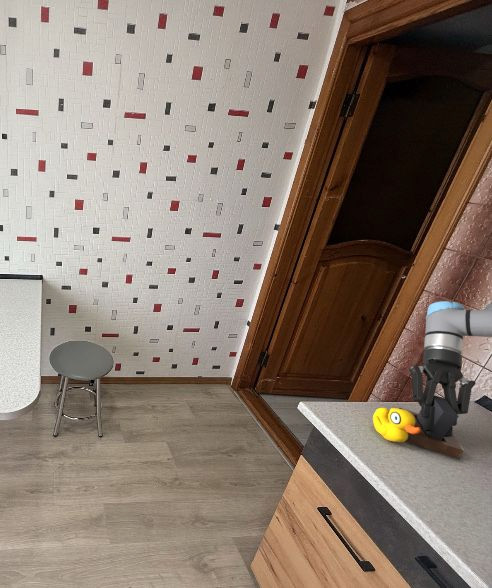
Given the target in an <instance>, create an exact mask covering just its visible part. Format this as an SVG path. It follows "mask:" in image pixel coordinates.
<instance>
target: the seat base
mask: <svg viewBox="0 0 492 588" xmlns="http://www.w3.org/2000/svg"><path fill="white" fill-rule="evenodd" d="M398 409H402V410H406V411H408V412H410V413H411V414H412V415H413V416H414V418H415V425H414V427H415V428H417V427H418V428H420V429H421V431H420V432H419V433H418V434H411V433H408V438H407V440H406V441H407V442H408V443H410V444H413V445H416V446H418V447H421V448H424V449H427V450H430V451H434V452H437V453H439V454H442V455H445V456H448V457H451V458H454V459H456V460H458V459H459V457H460V456H461V455H462V454H463V452H464V449H463V447H462V446H461V444H460V443H459V441H458V440H457V439H456V437H455V436H454V435H453V434H452V437H444V438H443V439H442V441H441V440H438V439H435V438H431V437H428V436H426V435H425V433H424V432H423V430H422V428H421V427H420V425H419V423H418V421H417V420H416V417H417V416H418V414H419V412H414V411H411V410H409V409H406V408H401V407H398Z"/></svg>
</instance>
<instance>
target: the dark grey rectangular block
mask: <svg viewBox="0 0 492 588" xmlns="http://www.w3.org/2000/svg"><path fill="white" fill-rule="evenodd" d="M430 406H433V407H435V415H434V431H424V418H425V417H422V416H421V410H420V411H419V412H418V416H417V417H416V420H417V421H418V423H419V425H420V427H421V428H422V430H423V432H424V433H425V435H426V436H428V437H431V438H435V439H438V440H441V441H442V439H443V438H444V436H445V435H446V434H447V432H448V431H449V429H450V428H451V427H452V425H453V424H454V422H455V421H456V420H457V421H458V418H459V417H460V416H459V414H458V415H457V413H456V412H455V411H454V409H453V408H452V407H451V405H450V404H449V403H448V402H447V400H446V399H445V397H441V396H439V395H435V394H434V398H433V401H432V404H431V405H430Z"/></svg>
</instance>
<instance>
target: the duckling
mask: <svg viewBox="0 0 492 588" xmlns="http://www.w3.org/2000/svg"><path fill="white" fill-rule="evenodd" d="M402 409H403V408H402ZM402 409H399V407H398V408H397V407H391V408H390V409H388V408H386V407H379V408H377V409H376V410H375V411H374V413H373V415H372V422H373V426H374V429H375V430H376V432H377V433H379V434H380V435H381V436H382V438H384V439H385V440H387V441H389V442H393V443H404V442H406V441H408V440H407V438H408V433H411V434H418V433H419V432H420V431H421V429H420V428H418V427H417V428H415V427H414V425H415V418H414V416H413V415H412V414H411V413H410V412H408V411H406V410H407V409H405V410H402Z"/></svg>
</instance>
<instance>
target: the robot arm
mask: <svg viewBox="0 0 492 588" xmlns="http://www.w3.org/2000/svg"><path fill="white" fill-rule="evenodd" d="M424 333H425V334H424V344H423V349H424V351H423V355H422V364H421V365H413V366H411V367H409V368H408V371H409V372H410V375H411V392H412V393H411V397H412V401H413V402H416V403H418V405H419V406H420V411H421V416H422V417H425V418H424V431H434V415H435V407H433V406H430V405H431V404H432V401H433V398H434V395H435V394H436V391H437V387H438V385H441V388H442V389H443V395H444V397H443V398H445V399H446V400H447V402H448V403H449V404H450V405H451V407H452V408H453V409H454V411H455V412H456V413H457V415H458V416H459V415H464V414H465V415H466V414H468V413H469V408H470V402H471V401H470V400H471V395H472V390H473V388H474V387H475V385H476V383H477V382H476V381H475V380H471V379H468V378H466V377H465V376H464V374H463V372H462V367H463V355H462V354H463V353H464V352H463V351H464V350H463V349H464V337H481V338H482V337H484V338H492V302H489V303H488V304H487V305H486V306H485V307H484V309H465V306H464V305H463V304H461V303H459V302H455V301H448V300H447V301H446V300H445V301H444V300H443V301H441V300H440V301H436V302H433V303H431V304H430V305H428V307H427V313H426V316H425V332H424ZM423 374H424V375H425V376H426V380H425V387H424V381H423V380H424V379H423ZM458 381H459V386H460V387H459V389H458V393H457V392H456V388H457V382H458ZM457 424H458V419H457V420H456V421H455V422H454V424H453V425H452V427H451V428H450V429H449V431H448V432H447V434H446V435H445V436H444V437H452V435H453V428H454V427H456V426H457Z"/></svg>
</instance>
